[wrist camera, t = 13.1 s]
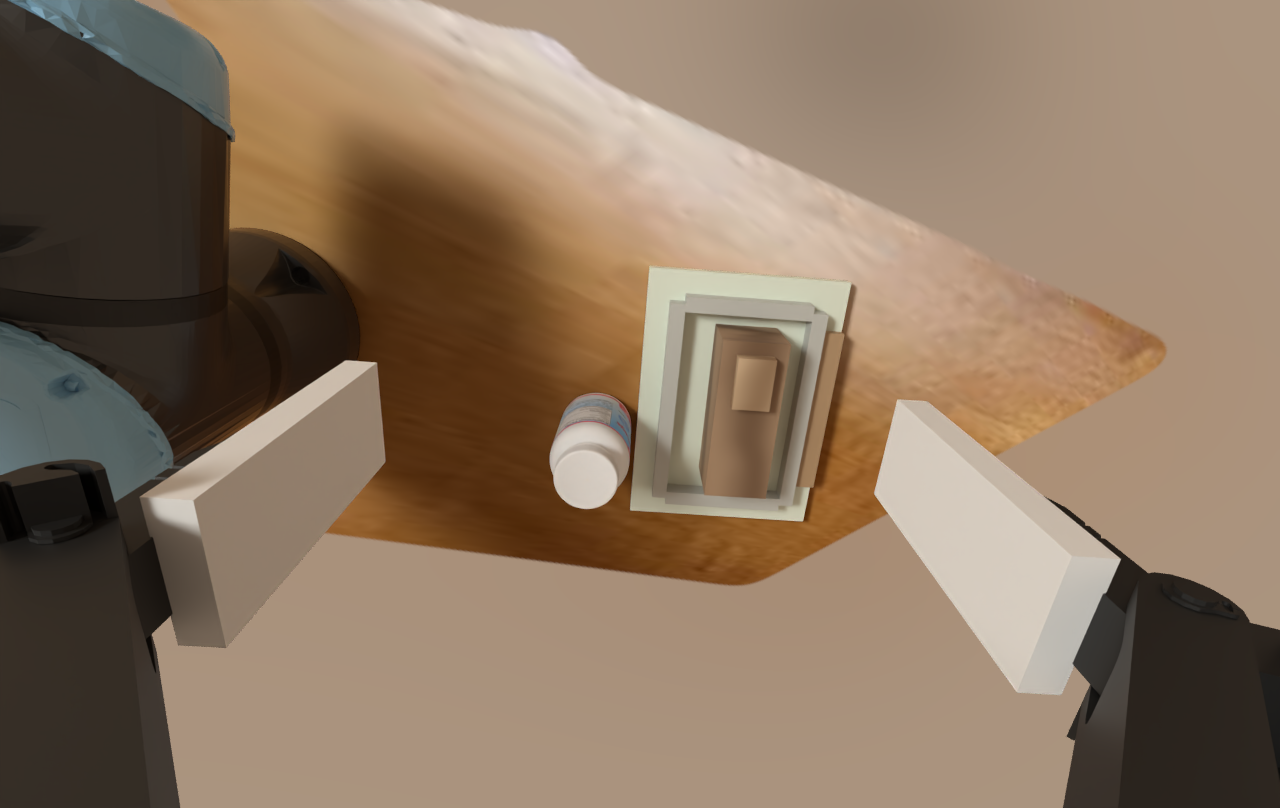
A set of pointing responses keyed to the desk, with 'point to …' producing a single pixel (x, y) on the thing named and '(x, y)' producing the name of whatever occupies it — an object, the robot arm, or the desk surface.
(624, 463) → the pill bottle
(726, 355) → the brown block
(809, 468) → the tray
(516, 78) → the desk surface
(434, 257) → the desk surface
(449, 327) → the desk surface
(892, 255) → the desk surface
